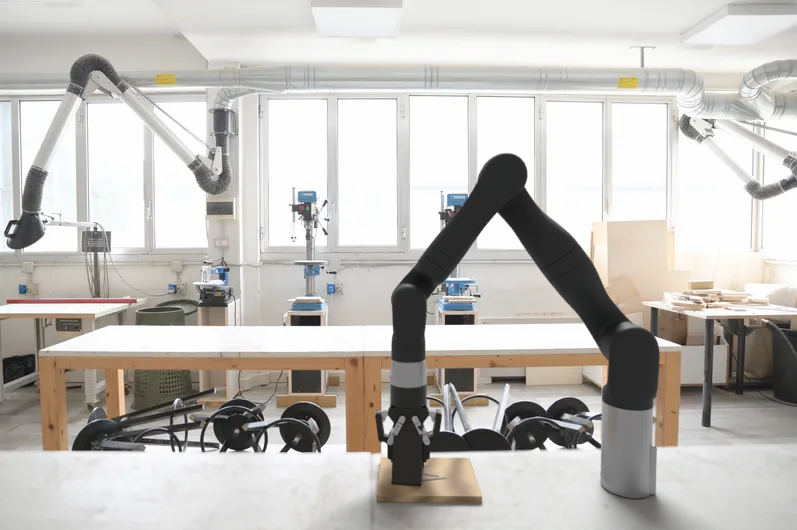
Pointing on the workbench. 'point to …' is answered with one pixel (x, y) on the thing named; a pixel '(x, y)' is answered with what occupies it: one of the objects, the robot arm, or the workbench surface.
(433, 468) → the oak board
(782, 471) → the workbench surface
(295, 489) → the workbench surface
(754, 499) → the workbench surface
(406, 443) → the phone stand
